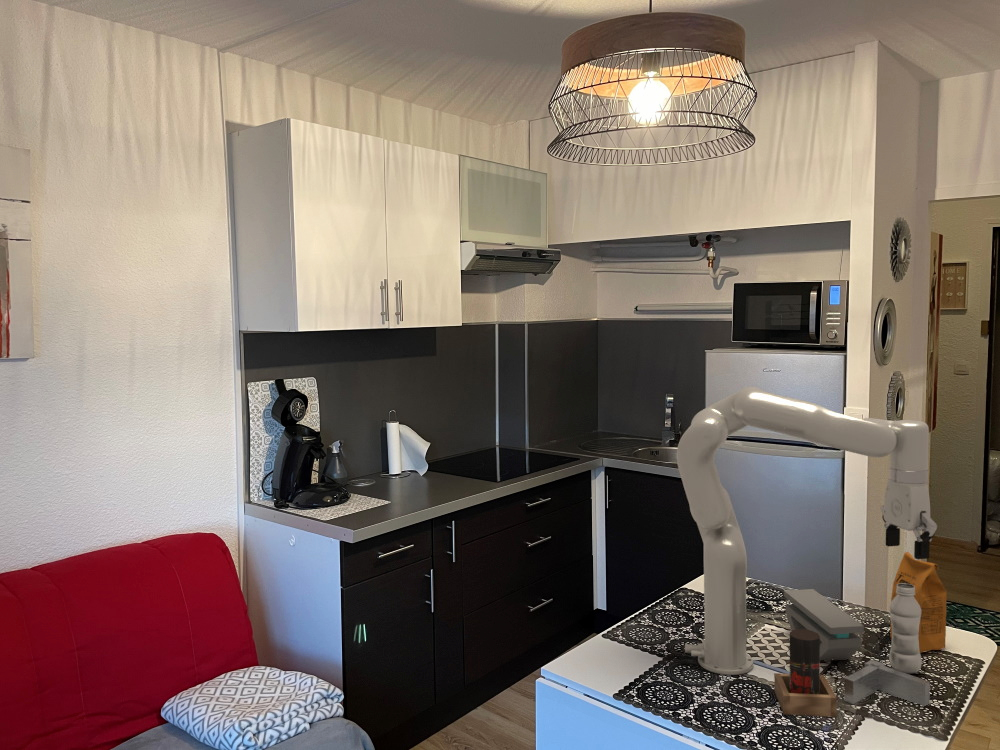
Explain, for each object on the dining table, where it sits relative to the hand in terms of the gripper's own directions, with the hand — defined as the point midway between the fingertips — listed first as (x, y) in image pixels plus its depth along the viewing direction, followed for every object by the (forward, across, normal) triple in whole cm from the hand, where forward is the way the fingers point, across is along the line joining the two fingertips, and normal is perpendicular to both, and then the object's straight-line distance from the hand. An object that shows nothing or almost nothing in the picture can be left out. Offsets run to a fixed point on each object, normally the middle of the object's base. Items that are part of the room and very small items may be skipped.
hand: (906, 552), depth 177 cm
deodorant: (+29, +6, -28) cm, 41 cm away
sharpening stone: (+29, -17, -10) cm, 35 cm away
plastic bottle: (+29, -3, +2) cm, 29 cm away
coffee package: (+29, -16, +15) cm, 36 cm away
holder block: (+29, +6, -28) cm, 41 cm away
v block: (+29, +6, -10) cm, 31 cm away
